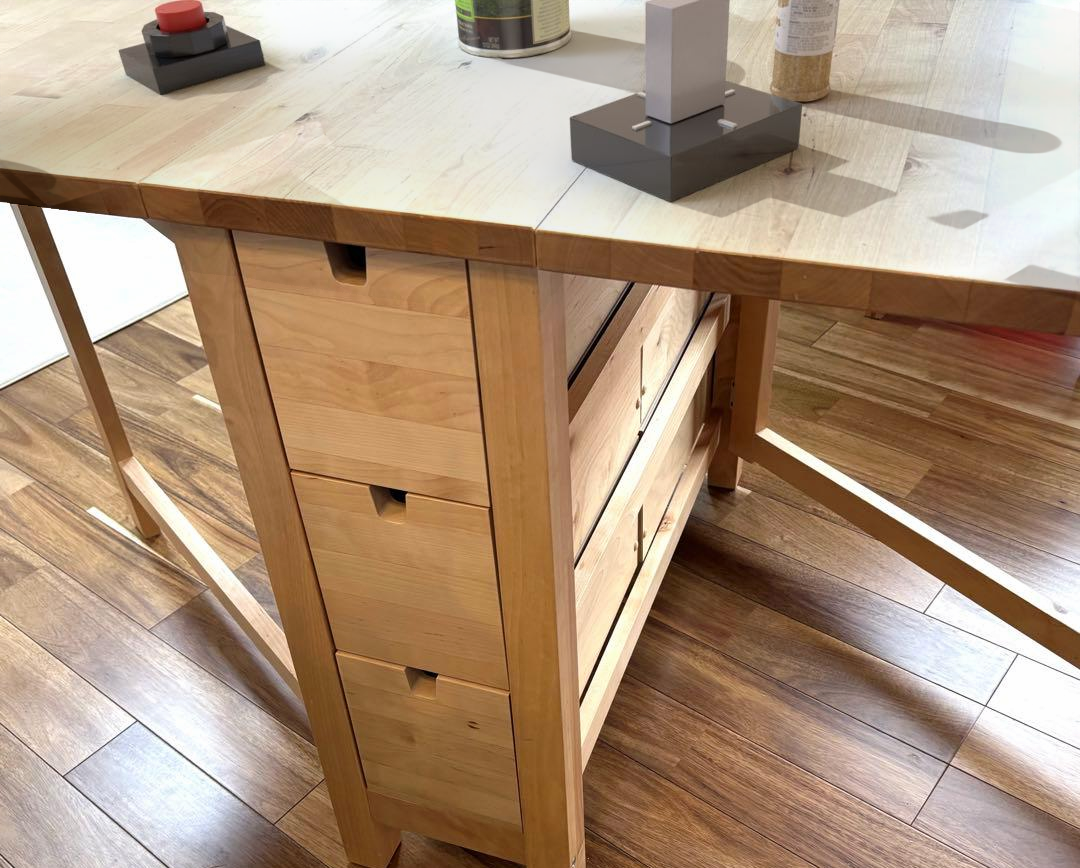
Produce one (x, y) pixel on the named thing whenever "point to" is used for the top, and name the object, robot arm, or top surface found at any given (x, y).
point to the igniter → (190, 55)
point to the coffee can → (512, 27)
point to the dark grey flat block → (685, 141)
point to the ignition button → (180, 15)
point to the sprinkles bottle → (804, 48)
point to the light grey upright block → (685, 57)
